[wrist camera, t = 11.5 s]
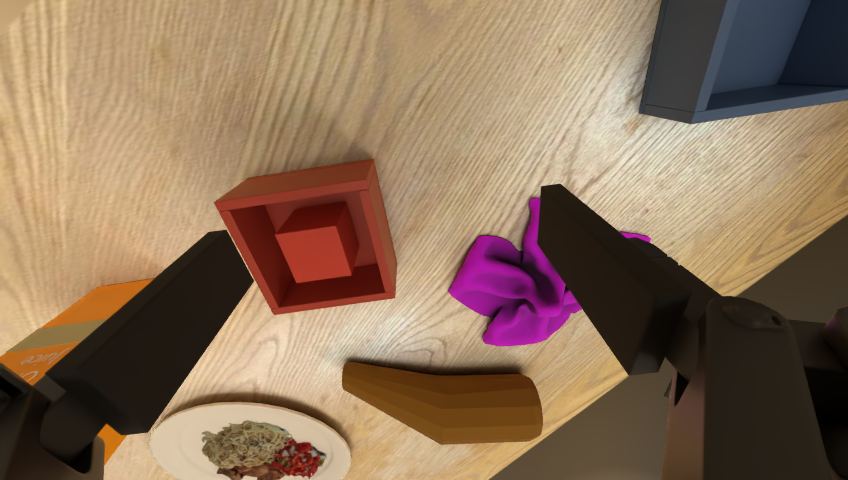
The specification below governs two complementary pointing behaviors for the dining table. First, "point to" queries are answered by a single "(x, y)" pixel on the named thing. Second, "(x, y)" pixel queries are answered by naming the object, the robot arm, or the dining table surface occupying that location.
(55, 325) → the orange juice
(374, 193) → the red bin
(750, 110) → the blue bin
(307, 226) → the red block
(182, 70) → the dining table surface
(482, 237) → the cloth
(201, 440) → the plated food
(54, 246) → the dining table surface
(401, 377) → the horn
